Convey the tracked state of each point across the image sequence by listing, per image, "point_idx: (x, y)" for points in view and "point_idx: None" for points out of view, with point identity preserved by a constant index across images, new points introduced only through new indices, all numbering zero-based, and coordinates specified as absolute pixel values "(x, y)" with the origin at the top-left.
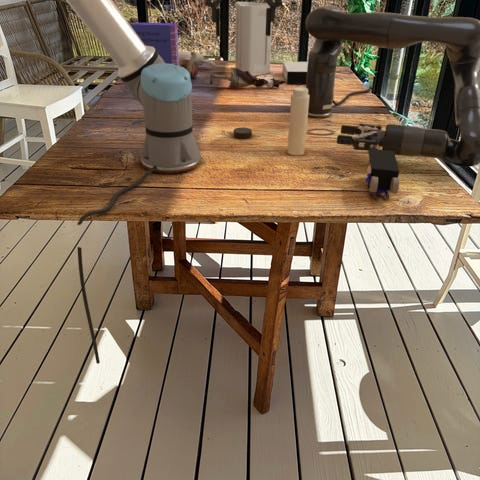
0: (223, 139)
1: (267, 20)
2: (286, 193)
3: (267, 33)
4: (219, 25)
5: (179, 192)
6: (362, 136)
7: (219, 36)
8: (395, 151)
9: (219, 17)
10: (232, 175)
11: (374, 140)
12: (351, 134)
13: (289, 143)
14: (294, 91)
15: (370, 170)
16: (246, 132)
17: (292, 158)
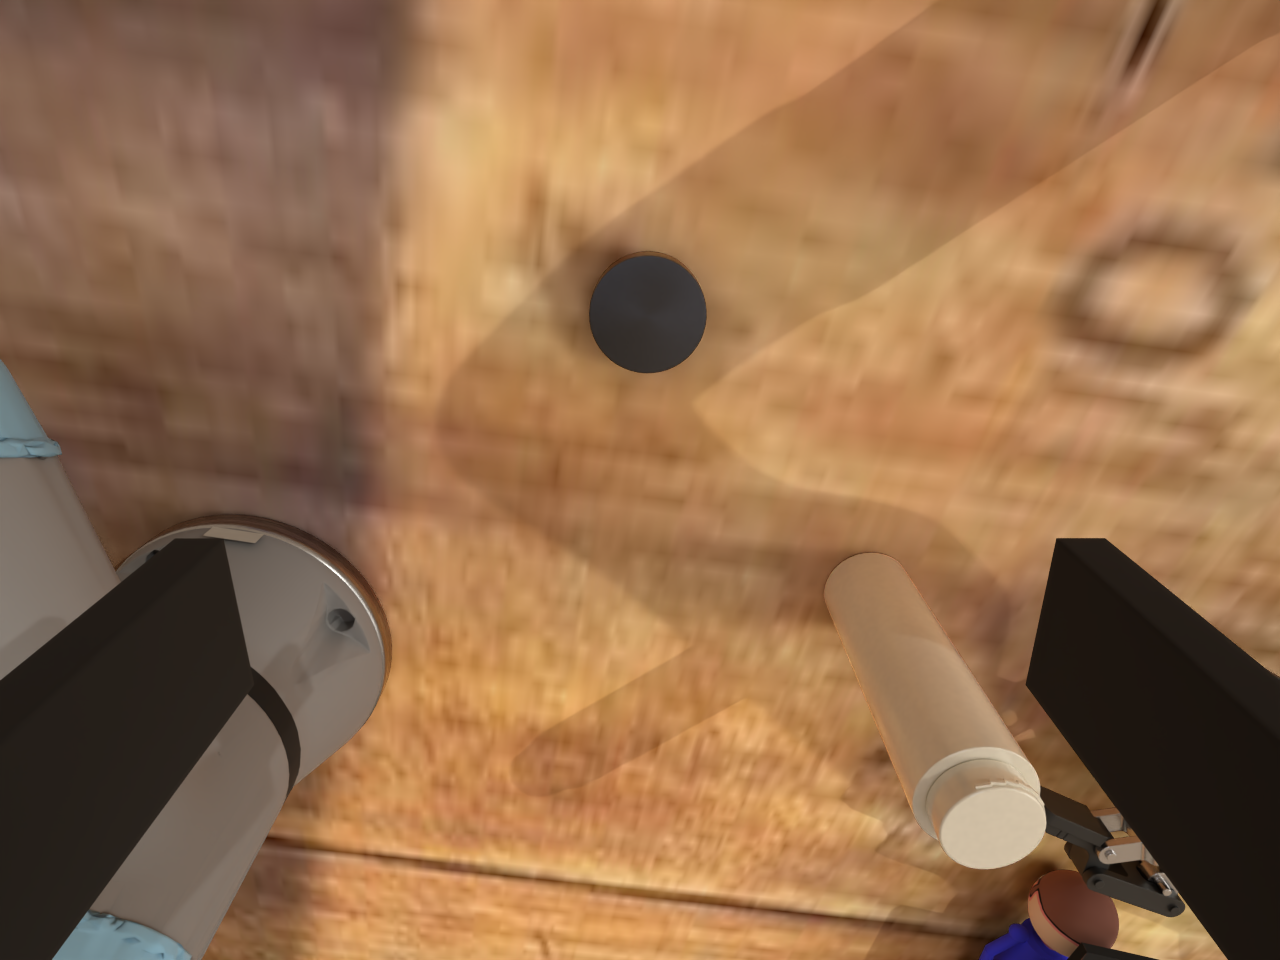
0: (523, 352)
1: (1175, 808)
2: (690, 918)
3: (1045, 691)
4: (158, 803)
5: (320, 873)
6: (1146, 860)
7: (245, 683)
8: None
9: (67, 928)
10: (521, 777)
11: (1169, 898)
12: None
13: (837, 632)
14: (935, 832)
15: (1035, 930)
16: (663, 362)
17: (822, 653)
